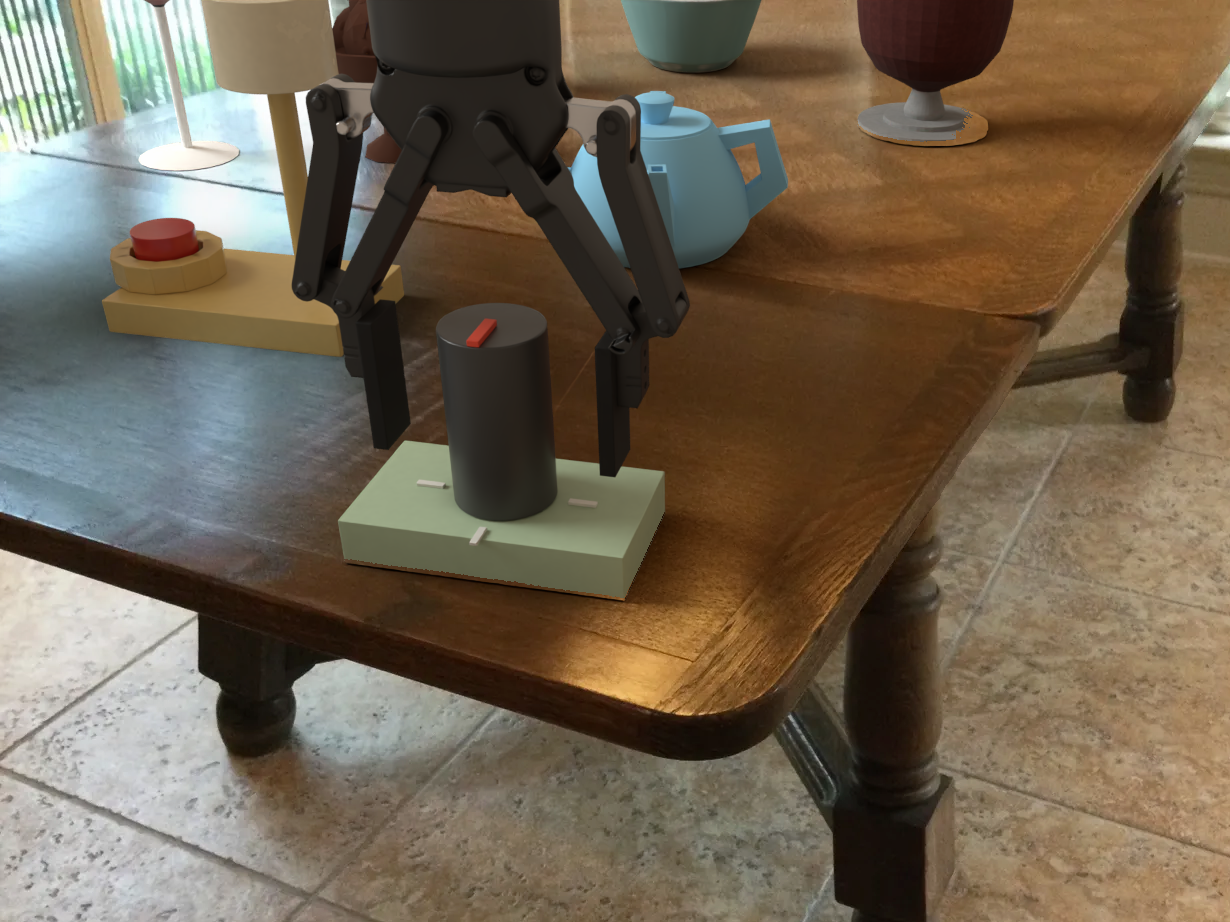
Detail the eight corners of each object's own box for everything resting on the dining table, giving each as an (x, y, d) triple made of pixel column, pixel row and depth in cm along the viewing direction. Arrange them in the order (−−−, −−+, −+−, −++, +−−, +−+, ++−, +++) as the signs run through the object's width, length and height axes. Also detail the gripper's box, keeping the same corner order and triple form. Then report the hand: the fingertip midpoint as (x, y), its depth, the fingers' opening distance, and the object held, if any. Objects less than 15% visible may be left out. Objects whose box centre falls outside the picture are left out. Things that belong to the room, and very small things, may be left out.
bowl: (738, 88, 137) (740, 2, 132) (595, 73, 141) (592, -10, 136) (780, 52, 150) (783, -27, 145) (647, 40, 153) (646, -38, 149)
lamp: (230, 277, 84) (175, -2, 75) (283, 237, 90) (238, -26, 81) (334, 287, 83) (291, 6, 74) (381, 247, 89) (347, -19, 80)
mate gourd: (904, 158, 119) (926, -90, 108) (820, 117, 129) (833, -113, 118) (1041, 135, 125) (1076, -101, 114) (951, 98, 135) (975, -122, 124)
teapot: (651, 299, 92) (649, 142, 86) (511, 241, 101) (501, 95, 95) (797, 242, 101) (804, 97, 95) (658, 194, 110) (657, 58, 104)
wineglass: (216, 133, 122) (164, -137, 110) (260, 159, 116) (211, -123, 104) (118, 150, 117) (53, -129, 105) (159, 179, 111) (95, -114, 99)
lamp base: (88, 330, 87) (73, 271, 85) (172, 272, 95) (160, 217, 93) (341, 357, 84) (331, 297, 82) (404, 295, 92) (397, 239, 90)
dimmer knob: (475, 463, 68) (458, 291, 63) (570, 474, 67) (560, 301, 62) (438, 514, 64) (417, 335, 59) (539, 527, 63) (526, 346, 58)
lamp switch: (122, 262, 87) (116, 236, 86) (156, 240, 90) (151, 215, 89) (179, 267, 86) (173, 241, 85) (211, 245, 90) (206, 220, 89)
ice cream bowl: (318, 144, 120) (291, -37, 111) (439, 129, 124) (422, -46, 116) (348, 179, 112) (322, -12, 104) (477, 162, 116) (461, -23, 108)
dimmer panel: (339, 570, 65) (331, 524, 63) (414, 475, 72) (408, 431, 71) (620, 609, 62) (619, 562, 61) (668, 506, 70) (667, 462, 68)
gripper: (136, -46, 51) (242, 459, 63) (731, -11, 47) (721, 519, 59) (235, -78, 57) (314, 388, 69) (768, -49, 53) (753, 438, 66)
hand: (502, 449), depth 64 cm, fingers open, 10 cm apart
